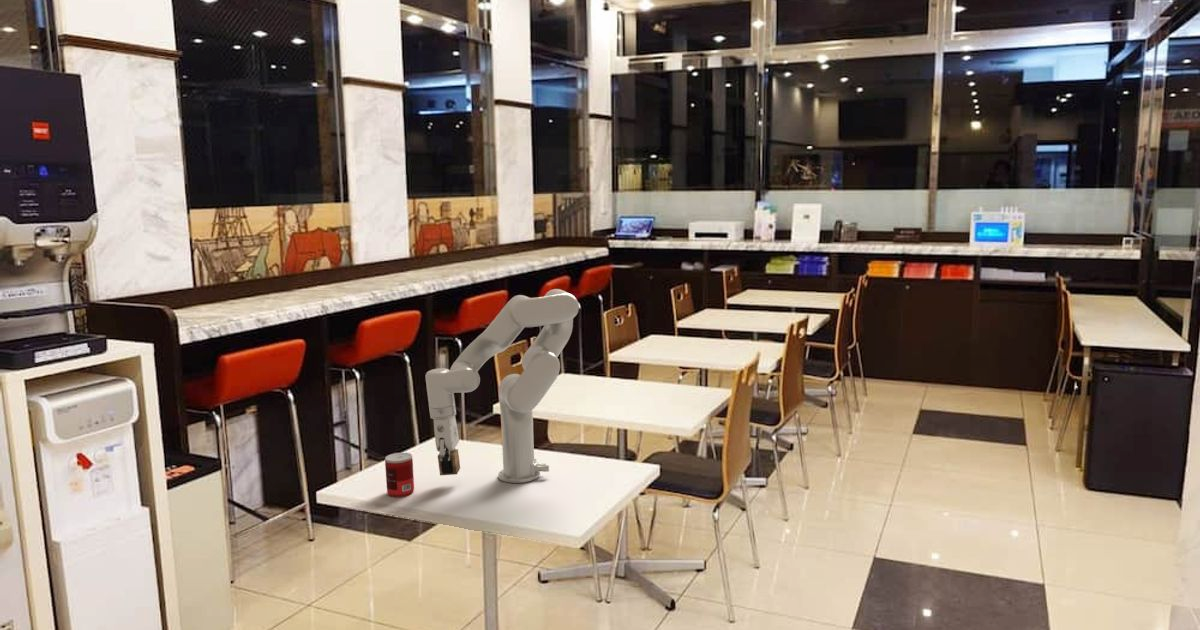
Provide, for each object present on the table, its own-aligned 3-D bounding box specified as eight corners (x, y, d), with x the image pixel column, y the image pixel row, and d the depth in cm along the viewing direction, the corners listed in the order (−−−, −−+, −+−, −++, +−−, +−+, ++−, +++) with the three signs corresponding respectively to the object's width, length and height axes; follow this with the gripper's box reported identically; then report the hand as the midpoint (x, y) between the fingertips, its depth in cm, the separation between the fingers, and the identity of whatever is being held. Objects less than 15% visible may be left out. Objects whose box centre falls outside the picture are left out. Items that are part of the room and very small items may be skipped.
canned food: (417, 488, 254) (415, 452, 253) (409, 498, 247) (407, 461, 245) (392, 487, 255) (390, 452, 253) (383, 497, 247) (380, 460, 246)
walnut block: (460, 468, 257) (457, 449, 256) (456, 474, 252) (454, 454, 251) (443, 469, 258) (441, 450, 257) (440, 475, 253) (437, 456, 252)
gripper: (449, 418, 243) (456, 479, 246) (461, 401, 260) (468, 459, 263) (423, 420, 244) (430, 481, 247) (436, 403, 260) (443, 460, 264)
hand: (449, 469), depth 255 cm, fingers closed on walnut block, 5 cm apart
